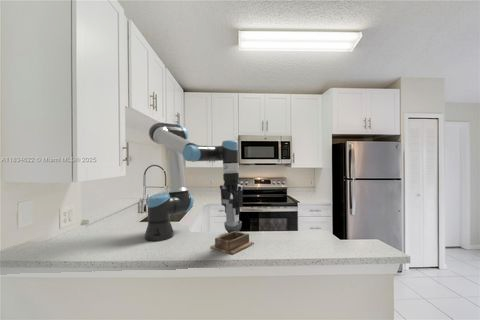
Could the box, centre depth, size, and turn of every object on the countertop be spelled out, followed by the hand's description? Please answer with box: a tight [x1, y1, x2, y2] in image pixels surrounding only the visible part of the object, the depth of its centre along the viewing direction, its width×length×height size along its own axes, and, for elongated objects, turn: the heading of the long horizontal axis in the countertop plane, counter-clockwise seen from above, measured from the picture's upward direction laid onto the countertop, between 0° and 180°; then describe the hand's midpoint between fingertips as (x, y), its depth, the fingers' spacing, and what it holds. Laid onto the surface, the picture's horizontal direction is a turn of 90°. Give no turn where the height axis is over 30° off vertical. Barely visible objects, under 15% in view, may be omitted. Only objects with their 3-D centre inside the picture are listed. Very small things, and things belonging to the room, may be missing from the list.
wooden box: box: [210, 231, 255, 255], centre depth 116 cm, size 14×16×5 cm
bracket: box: [221, 196, 238, 227], centre depth 116 cm, size 4×9×13 cm, turn 142°
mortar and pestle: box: [223, 220, 243, 234], centre depth 136 cm, size 11×9×12 cm
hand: (232, 220), depth 116 cm, fingers closed on bracket, 4 cm apart
